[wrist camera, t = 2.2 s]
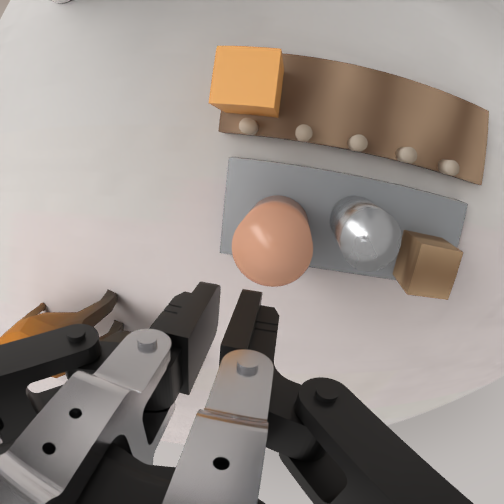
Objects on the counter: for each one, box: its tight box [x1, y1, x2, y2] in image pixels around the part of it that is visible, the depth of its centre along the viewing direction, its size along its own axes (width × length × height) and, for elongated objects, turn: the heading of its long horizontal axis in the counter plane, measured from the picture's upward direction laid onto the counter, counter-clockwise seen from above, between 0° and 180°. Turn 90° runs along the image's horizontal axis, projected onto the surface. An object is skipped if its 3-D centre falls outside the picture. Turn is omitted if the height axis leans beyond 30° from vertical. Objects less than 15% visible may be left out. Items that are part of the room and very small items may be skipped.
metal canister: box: [330, 195, 402, 272], centre depth 20 cm, size 4×4×6 cm
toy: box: [0, 289, 131, 378], centre depth 25 cm, size 11×29×15 cm, turn 107°
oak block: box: [393, 230, 463, 300], centre depth 21 cm, size 4×4×4 cm
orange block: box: [209, 46, 284, 118], centre depth 18 cm, size 4×4×5 cm
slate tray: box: [220, 157, 468, 280], centre depth 24 cm, size 8×21×1 cm, turn 83°
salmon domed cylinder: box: [232, 195, 313, 287], centre depth 21 cm, size 5×5×6 cm
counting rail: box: [219, 53, 489, 185], centre depth 19 cm, size 23×7×3 cm, turn 83°
